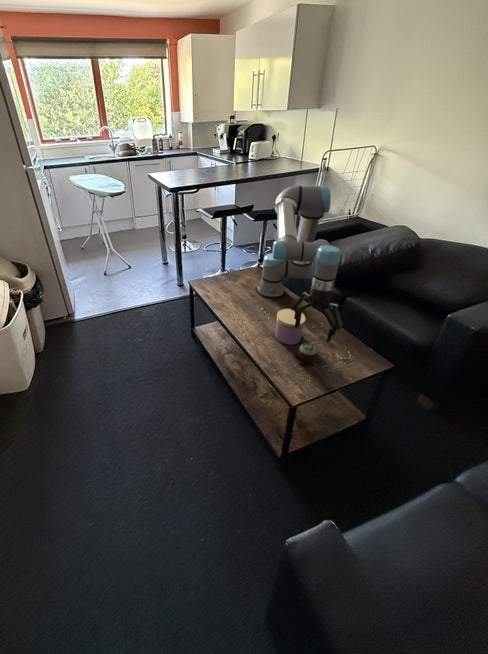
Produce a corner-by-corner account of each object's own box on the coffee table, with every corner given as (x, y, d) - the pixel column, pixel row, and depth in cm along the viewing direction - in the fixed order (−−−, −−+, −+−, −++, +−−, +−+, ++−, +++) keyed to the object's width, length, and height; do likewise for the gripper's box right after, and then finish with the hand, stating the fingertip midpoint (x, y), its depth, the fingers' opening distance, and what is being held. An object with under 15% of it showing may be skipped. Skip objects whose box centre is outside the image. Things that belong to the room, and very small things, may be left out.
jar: (283, 325, 159) (286, 305, 153) (306, 336, 151) (310, 316, 145) (269, 336, 151) (271, 316, 146) (292, 348, 143) (296, 328, 138)
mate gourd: (302, 353, 140) (307, 326, 133) (319, 362, 135) (325, 334, 128) (293, 361, 136) (298, 334, 128) (310, 371, 131) (316, 343, 123)
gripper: (286, 279, 123) (280, 324, 133) (351, 303, 107) (338, 352, 117) (296, 273, 127) (289, 317, 138) (361, 295, 111) (347, 343, 122)
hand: (312, 333), depth 128 cm, fingers open, 13 cm apart
